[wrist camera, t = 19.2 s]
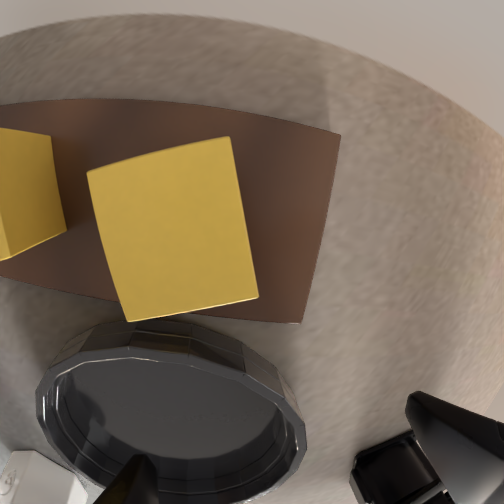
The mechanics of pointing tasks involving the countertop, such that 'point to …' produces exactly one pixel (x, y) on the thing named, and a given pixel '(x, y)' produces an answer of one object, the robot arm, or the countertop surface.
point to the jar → (38, 481)
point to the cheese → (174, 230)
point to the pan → (172, 411)
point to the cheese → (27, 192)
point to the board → (167, 136)
